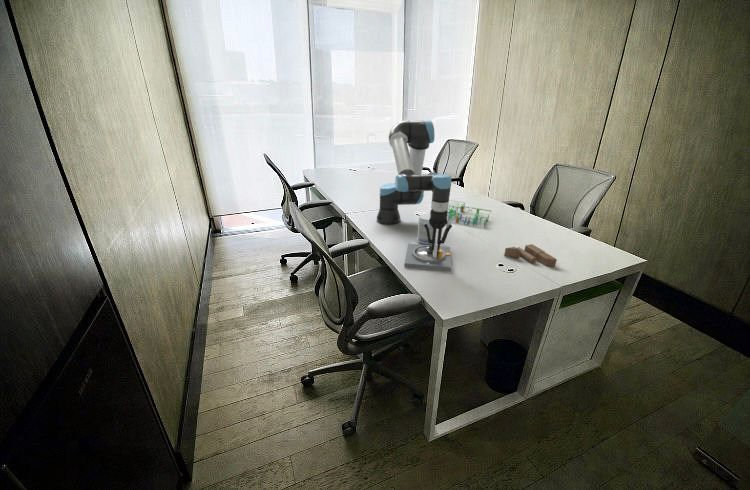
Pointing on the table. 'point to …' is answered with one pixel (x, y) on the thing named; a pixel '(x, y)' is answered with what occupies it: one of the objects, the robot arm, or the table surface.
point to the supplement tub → (424, 229)
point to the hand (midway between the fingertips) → (434, 255)
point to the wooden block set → (531, 255)
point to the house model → (475, 219)
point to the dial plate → (424, 263)
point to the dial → (428, 253)
